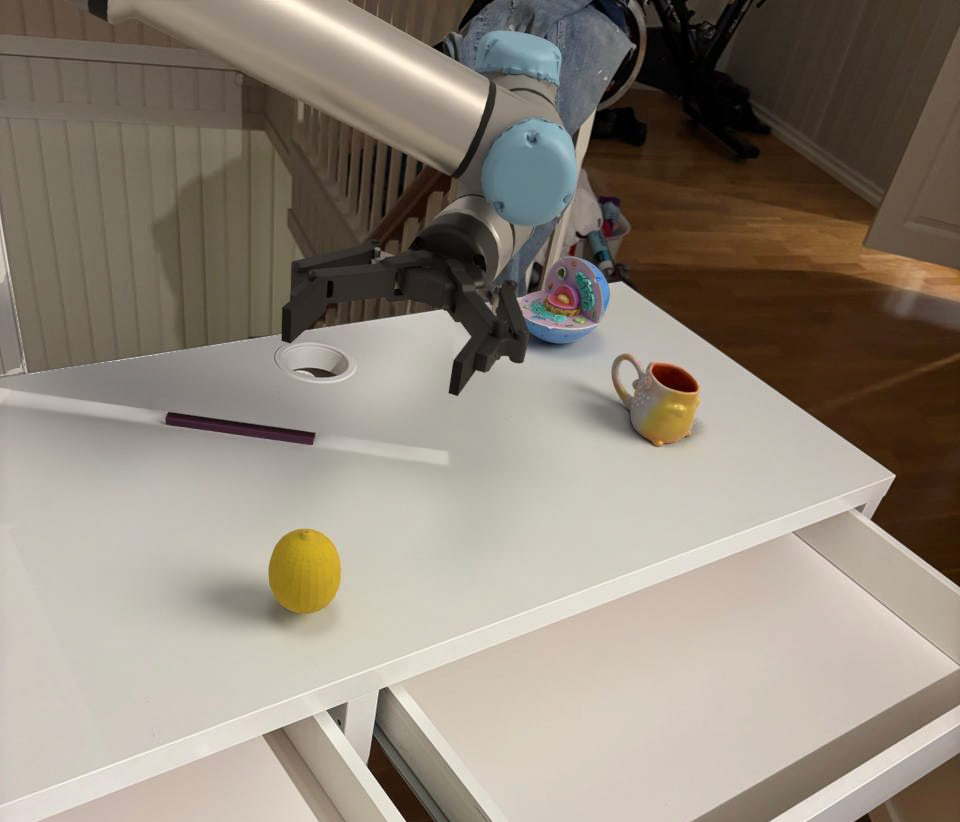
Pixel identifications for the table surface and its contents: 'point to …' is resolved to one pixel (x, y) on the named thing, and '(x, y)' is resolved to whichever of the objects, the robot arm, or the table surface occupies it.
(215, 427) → the dark purple flat bar
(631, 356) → the mug
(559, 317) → the cell model
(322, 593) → the lemon
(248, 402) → the table surface
